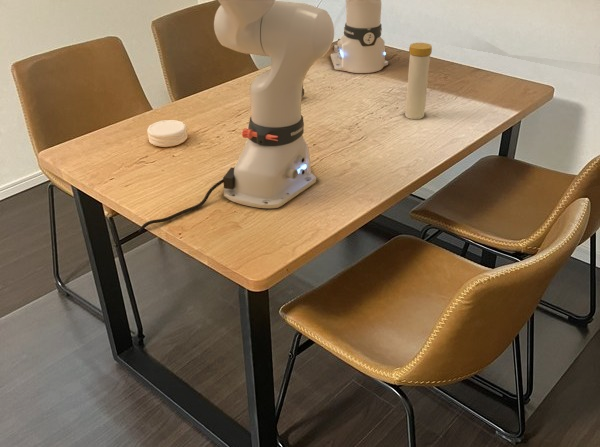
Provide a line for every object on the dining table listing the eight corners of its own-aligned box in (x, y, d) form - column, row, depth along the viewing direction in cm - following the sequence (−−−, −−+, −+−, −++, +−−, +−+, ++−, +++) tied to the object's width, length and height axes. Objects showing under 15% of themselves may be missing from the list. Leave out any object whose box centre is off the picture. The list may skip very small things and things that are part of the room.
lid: (418, 48, 167) (419, 41, 166) (435, 52, 163) (436, 45, 162) (404, 52, 164) (405, 45, 162) (422, 57, 160) (422, 50, 159)
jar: (413, 110, 176) (419, 43, 166) (427, 115, 173) (434, 47, 162) (401, 115, 173) (406, 47, 163) (416, 120, 170) (422, 51, 159)
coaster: (150, 132, 165) (149, 120, 163) (188, 130, 166) (187, 118, 164) (146, 148, 157) (144, 135, 155) (186, 146, 157) (185, 133, 155)
